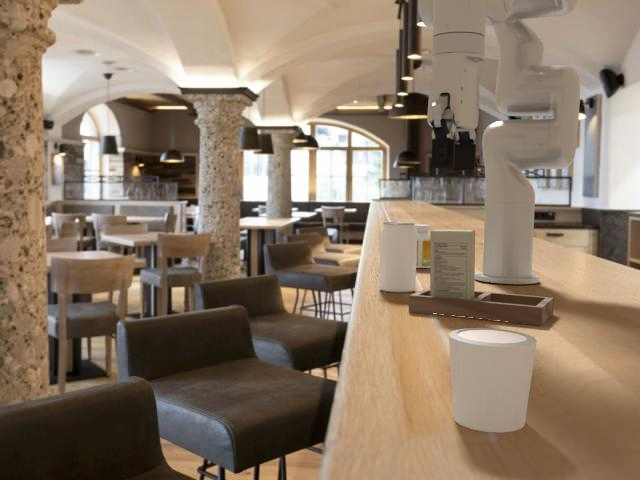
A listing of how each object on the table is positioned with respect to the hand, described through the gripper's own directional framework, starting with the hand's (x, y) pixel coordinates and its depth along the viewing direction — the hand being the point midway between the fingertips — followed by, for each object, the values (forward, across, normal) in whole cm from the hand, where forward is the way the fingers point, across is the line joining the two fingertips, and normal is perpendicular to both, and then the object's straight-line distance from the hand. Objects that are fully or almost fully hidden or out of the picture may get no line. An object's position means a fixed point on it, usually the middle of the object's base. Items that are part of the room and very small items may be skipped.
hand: (453, 169), depth 104 cm
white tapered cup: (+22, +45, +19) cm, 53 cm away
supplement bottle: (+21, -49, -24) cm, 59 cm away
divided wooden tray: (+21, -1, +4) cm, 22 cm away
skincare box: (+21, -1, 0) cm, 21 cm away
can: (+21, -15, -15) cm, 30 cm away
